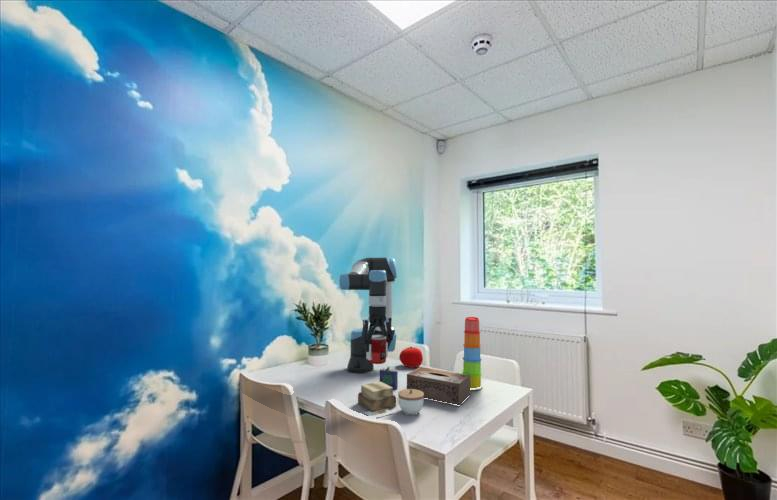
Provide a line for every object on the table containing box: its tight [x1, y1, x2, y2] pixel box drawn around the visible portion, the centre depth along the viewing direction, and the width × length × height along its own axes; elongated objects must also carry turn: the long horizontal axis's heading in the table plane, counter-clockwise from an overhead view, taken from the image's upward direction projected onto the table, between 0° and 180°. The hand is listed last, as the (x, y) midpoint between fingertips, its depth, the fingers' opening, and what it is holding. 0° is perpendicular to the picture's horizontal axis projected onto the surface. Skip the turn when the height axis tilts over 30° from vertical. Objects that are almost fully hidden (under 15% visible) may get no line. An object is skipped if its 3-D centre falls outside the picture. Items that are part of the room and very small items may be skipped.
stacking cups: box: [461, 316, 483, 388], centre depth 185 cm, size 10×10×35 cm
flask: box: [379, 366, 399, 391], centre depth 182 cm, size 9×3×11 cm, turn 74°
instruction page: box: [364, 409, 395, 418], centre depth 152 cm, size 10×7×1 cm
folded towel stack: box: [357, 380, 397, 412], centre depth 161 cm, size 12×12×8 cm
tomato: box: [398, 346, 424, 368], centre depth 220 cm, size 12×14×11 cm
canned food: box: [368, 335, 387, 365], centre depth 161 cm, size 8×8×11 cm
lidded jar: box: [397, 388, 425, 415], centre depth 154 cm, size 11×11×9 cm
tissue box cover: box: [406, 366, 471, 405], centre depth 172 cm, size 26×14×10 cm, turn 59°
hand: (377, 357), depth 161 cm, fingers closed on canned food, 8 cm apart
